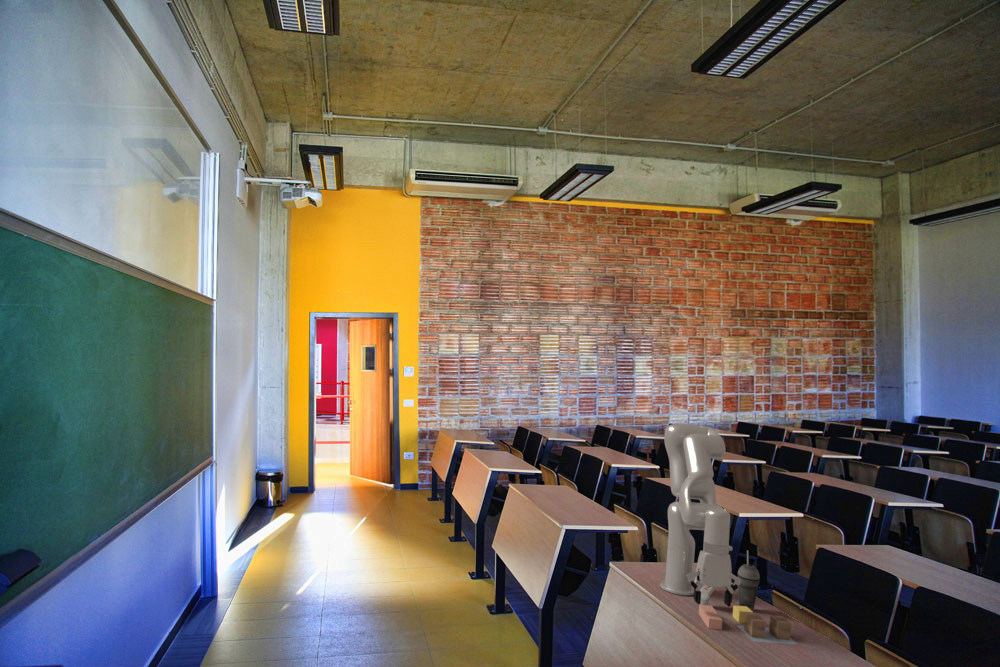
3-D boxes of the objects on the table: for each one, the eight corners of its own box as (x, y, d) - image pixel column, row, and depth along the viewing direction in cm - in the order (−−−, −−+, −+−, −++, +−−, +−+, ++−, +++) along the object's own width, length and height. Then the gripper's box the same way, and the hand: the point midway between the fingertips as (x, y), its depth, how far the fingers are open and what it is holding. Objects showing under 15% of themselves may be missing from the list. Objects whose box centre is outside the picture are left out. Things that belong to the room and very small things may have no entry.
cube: (732, 619, 198) (733, 605, 198) (745, 620, 199) (746, 606, 199) (738, 625, 194) (739, 611, 194) (752, 626, 194) (753, 612, 194)
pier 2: (768, 631, 189) (770, 615, 189) (781, 632, 189) (782, 616, 189) (777, 638, 184) (778, 622, 184) (789, 639, 184) (791, 623, 184)
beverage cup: (746, 616, 202) (750, 555, 203) (729, 607, 208) (734, 548, 209) (762, 614, 205) (766, 554, 205) (745, 605, 211) (750, 547, 212)
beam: (698, 616, 198) (699, 604, 198) (710, 618, 198) (711, 605, 198) (708, 631, 187) (709, 618, 187) (721, 633, 187) (722, 620, 187)
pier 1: (743, 629, 189) (745, 613, 189) (756, 630, 189) (757, 614, 189) (751, 637, 184) (752, 620, 184) (764, 638, 184) (765, 621, 184)
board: (736, 627, 191) (736, 625, 192) (779, 630, 192) (779, 628, 192) (752, 644, 180) (752, 641, 181) (798, 647, 181) (798, 644, 181)
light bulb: (691, 609, 204) (694, 572, 204) (692, 602, 210) (695, 567, 211) (713, 613, 201) (716, 577, 202) (713, 606, 208) (716, 571, 208)
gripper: (736, 547, 198) (733, 601, 196) (684, 543, 197) (681, 597, 195) (747, 554, 190) (744, 610, 189) (693, 550, 189) (690, 606, 188)
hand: (712, 604), depth 192 cm, fingers open, 9 cm apart
